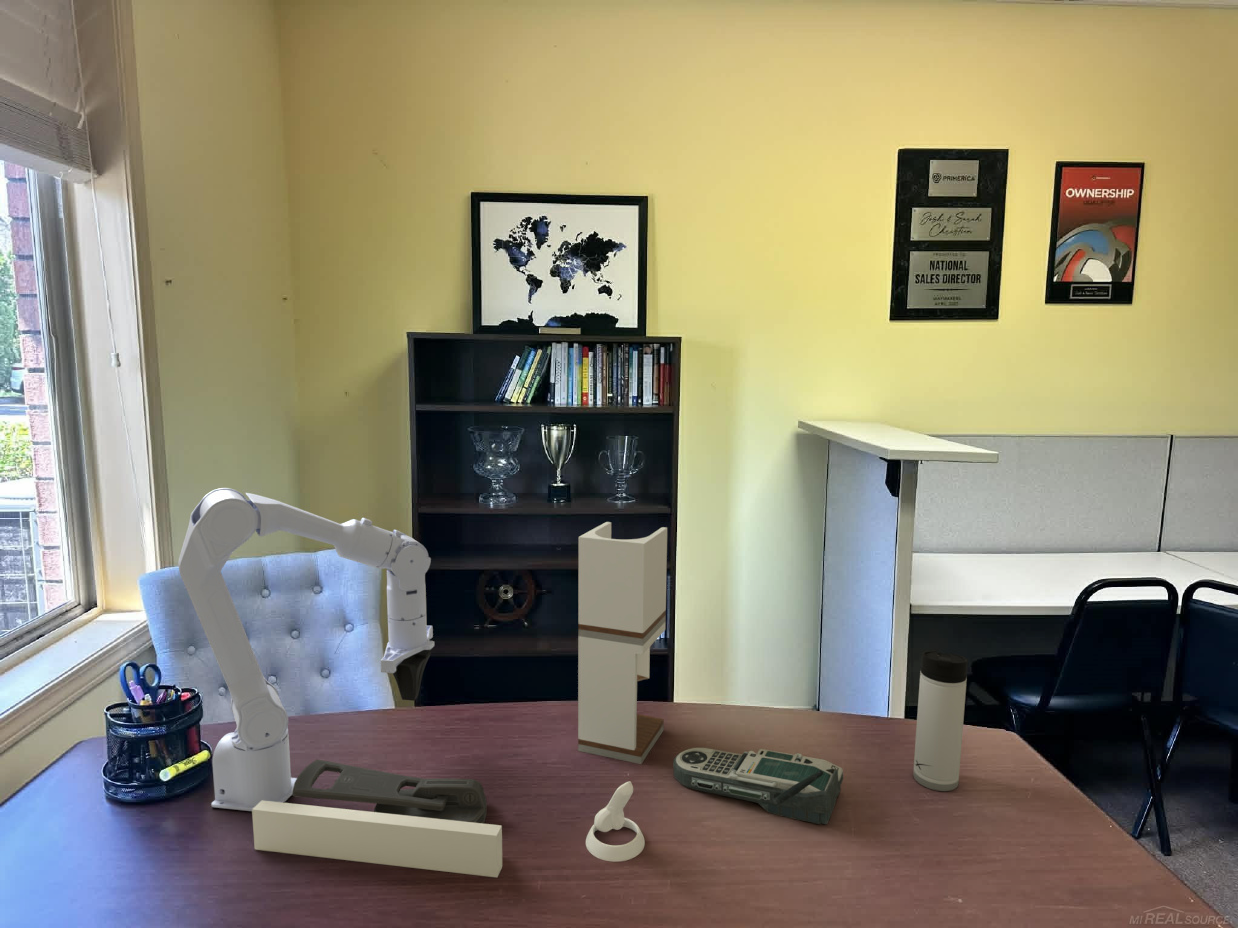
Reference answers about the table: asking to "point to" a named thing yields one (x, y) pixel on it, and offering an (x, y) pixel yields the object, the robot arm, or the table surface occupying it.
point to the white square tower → (618, 639)
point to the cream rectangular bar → (378, 838)
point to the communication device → (765, 780)
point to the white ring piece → (615, 820)
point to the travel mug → (940, 720)
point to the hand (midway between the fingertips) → (409, 698)
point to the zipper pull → (397, 792)
